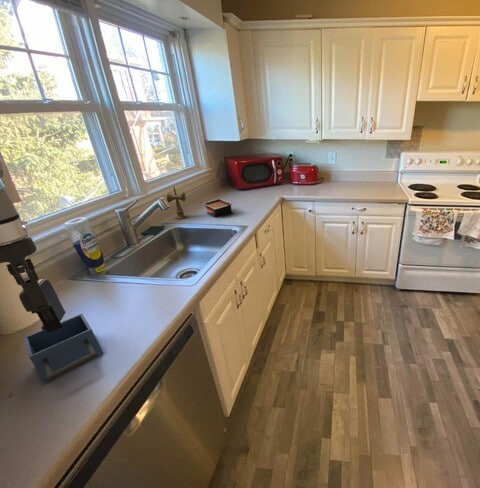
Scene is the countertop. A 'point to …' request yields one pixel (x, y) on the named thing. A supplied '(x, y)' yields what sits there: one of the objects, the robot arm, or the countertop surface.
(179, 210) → the kendama
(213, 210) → the square planter pot
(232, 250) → the countertop surface
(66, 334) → the handled carry box
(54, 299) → the battery charger
